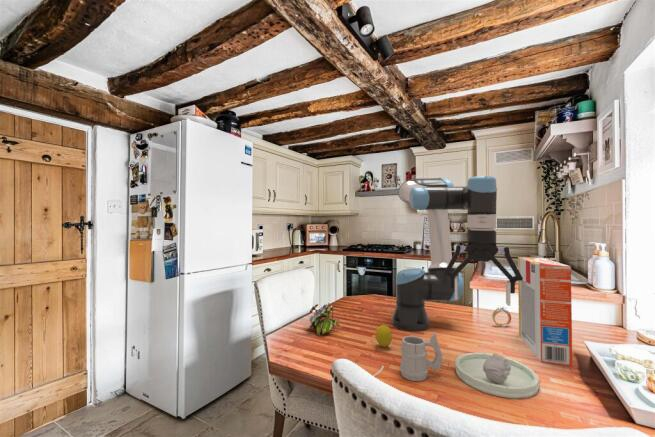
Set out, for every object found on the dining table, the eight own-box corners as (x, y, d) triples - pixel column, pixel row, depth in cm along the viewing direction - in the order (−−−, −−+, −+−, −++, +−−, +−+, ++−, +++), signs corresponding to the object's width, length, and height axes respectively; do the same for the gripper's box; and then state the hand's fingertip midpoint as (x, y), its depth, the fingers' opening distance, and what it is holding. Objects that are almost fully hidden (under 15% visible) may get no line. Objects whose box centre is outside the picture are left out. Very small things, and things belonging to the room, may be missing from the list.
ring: (509, 325, 123) (509, 306, 124) (512, 328, 120) (512, 308, 120) (491, 324, 125) (491, 305, 125) (493, 327, 122) (493, 307, 122)
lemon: (382, 352, 99) (382, 328, 99) (372, 346, 104) (372, 323, 104) (395, 348, 101) (395, 325, 101) (385, 343, 106) (385, 320, 106)
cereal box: (572, 365, 89) (570, 266, 90) (540, 361, 92) (539, 265, 92) (543, 337, 111) (542, 257, 111) (518, 335, 113) (518, 257, 114)
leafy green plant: (314, 343, 121) (313, 311, 129) (343, 339, 119) (340, 306, 127) (305, 335, 111) (304, 301, 119) (337, 331, 109) (334, 296, 117)
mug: (397, 367, 88) (397, 327, 88) (437, 368, 88) (437, 328, 88) (402, 381, 81) (402, 337, 81) (446, 382, 80) (446, 338, 80)
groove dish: (455, 387, 78) (455, 378, 78) (456, 355, 96) (456, 348, 96) (547, 406, 69) (547, 396, 70) (529, 368, 88) (529, 360, 88)
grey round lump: (517, 386, 76) (516, 359, 76) (495, 390, 74) (495, 362, 74) (497, 374, 82) (497, 349, 82) (476, 378, 80) (476, 352, 80)
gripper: (435, 229, 88) (435, 300, 89) (535, 231, 78) (535, 310, 78) (437, 228, 95) (437, 293, 95) (529, 229, 85) (529, 302, 85)
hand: (481, 301), depth 87 cm, fingers open, 13 cm apart
